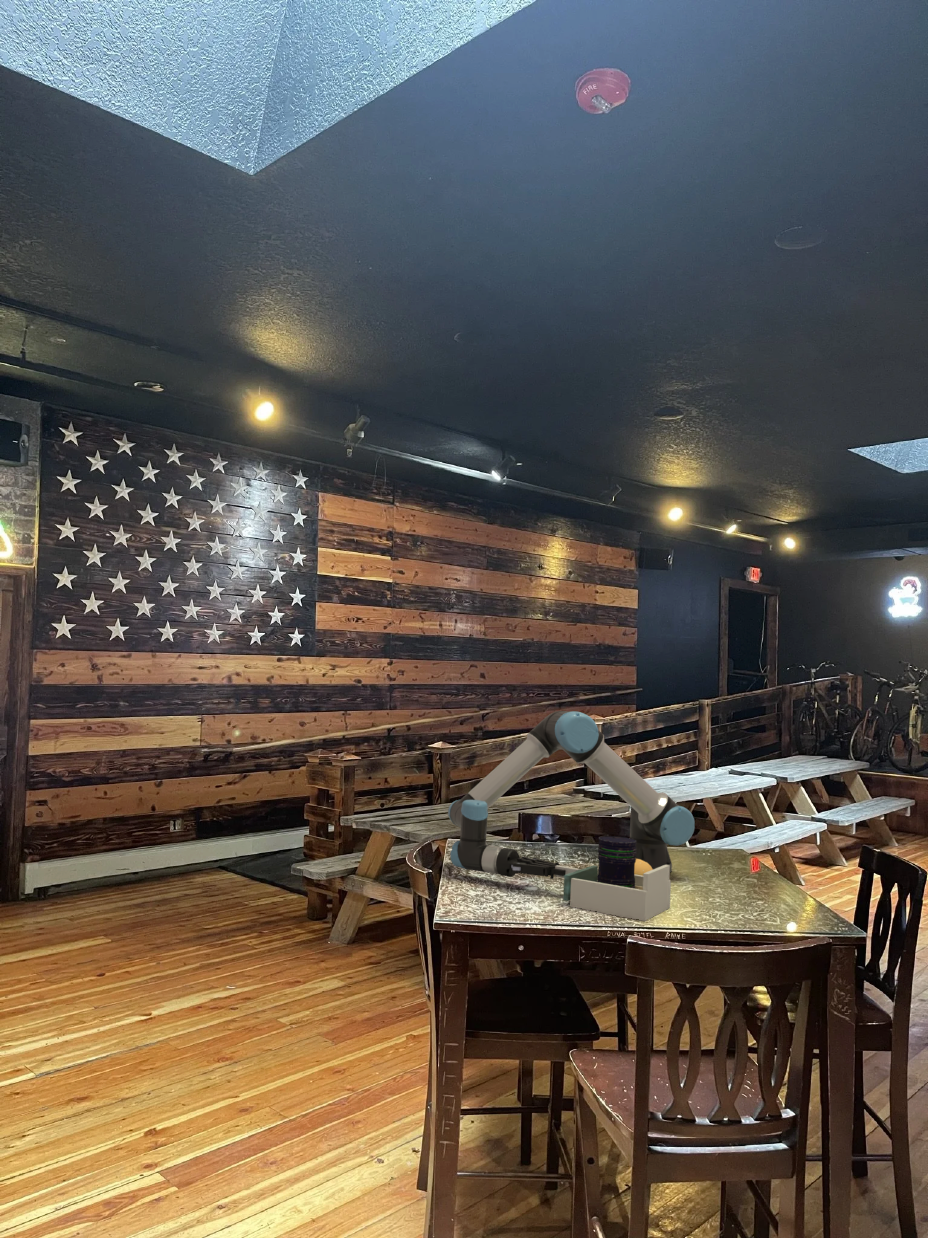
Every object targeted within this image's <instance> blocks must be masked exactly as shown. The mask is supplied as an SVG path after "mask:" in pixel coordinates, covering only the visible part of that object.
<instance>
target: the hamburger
mask: <svg viewBox="0 0 928 1238" xmlns="http://www.w3.org/2000/svg"><path fill="white" fill-rule="evenodd" d="M651 870H653V869H652V867H651V866H650V865H649V864H648V863H647V862H645V861H643V860H640V859H636V862H635V870H634V874H635V875H641V876H643V873H646V872H648V871H651Z"/></svg>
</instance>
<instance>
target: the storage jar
mask: <svg viewBox="0 0 928 1238" xmlns="http://www.w3.org/2000/svg"><path fill="white" fill-rule="evenodd" d="M597 859H598V869H599V873H598V872H597V882H599V883H605V884H611V885H616V886H622V887H628V888H634V889H635V877H634V870H635V862H636V840H635V839H632V838H630V837H625V836H620V835H619V836H617V835H604V836H603V835H602V836H599V837H598V848H597Z"/></svg>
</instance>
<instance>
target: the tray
mask: <svg viewBox="0 0 928 1238" xmlns="http://www.w3.org/2000/svg"><path fill="white" fill-rule="evenodd" d="M598 869H599V865H590V866H587V867H585V868H581V869H579V870H578V871H575V872H572V873H569V874H566V875H564V878H563V895H562V897H563V901H566V902H570V896H571V879H572V878H576V879H582V880H588V881H593V882H597V881H598V880H597V875H598ZM635 889H639V890H643V887H642V886H636V885H635Z"/></svg>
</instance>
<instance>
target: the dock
mask: <svg viewBox="0 0 928 1238" xmlns="http://www.w3.org/2000/svg"><path fill="white" fill-rule="evenodd" d="M598 873H599V868H598V872H597V874H598ZM670 873H671V872H670V865H663V866H661V867H658V868H656V869H653V870H651V871H648V872H646V873H643V876H641V875H635V874H634V877H635V885H636V886H642V887H643V890H639V889H634V888H628V887H622V886H616V885H611V884H605V883H599V882H593V881H588V880H582V879H576V878H572V879H571V896H570V900H569V902H570V903H569V907H570V908H574V907H576V908H575V909H579V908H582V909H581V910H585V911H590V910H591V911H590V912H595V911H597V912H596V913H599V914H600V913H601V914H607V915H610V914H612V915H611V916H615V915H616V917H621V916H622V917H621V918H627V919H631V918H632V919H631V920H636V919H639V920H638V921H641V920H642V921H641V922H646V921H648V920H650V919H651V918H653V916H654V917H656V916H657V915H659V914H661V913H664V912H665V911H667V910H669V909H671V887H672V886H671V885H672V880H671V879H670ZM649 918H650V919H649ZM647 919H648V920H647Z"/></svg>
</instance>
